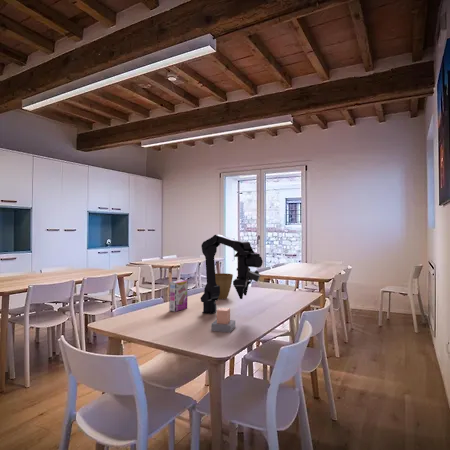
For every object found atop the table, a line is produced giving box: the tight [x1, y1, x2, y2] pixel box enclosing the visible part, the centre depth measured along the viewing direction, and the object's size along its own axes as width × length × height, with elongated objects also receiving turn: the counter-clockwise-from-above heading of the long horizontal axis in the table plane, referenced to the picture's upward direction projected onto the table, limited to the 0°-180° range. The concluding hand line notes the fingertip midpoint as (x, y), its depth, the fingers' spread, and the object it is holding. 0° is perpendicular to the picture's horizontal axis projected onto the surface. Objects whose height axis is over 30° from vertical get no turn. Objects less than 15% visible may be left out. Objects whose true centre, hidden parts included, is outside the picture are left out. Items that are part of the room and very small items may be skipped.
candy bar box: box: [168, 279, 189, 313], centre depth 191 cm, size 11×5×16 cm, turn 149°
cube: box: [216, 307, 231, 324], centre depth 154 cm, size 5×5×6 cm
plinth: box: [210, 319, 236, 333], centre depth 154 cm, size 9×9×3 cm
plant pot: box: [215, 272, 234, 300], centre depth 222 cm, size 15×15×16 cm
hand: (243, 297), depth 167 cm, fingers open, 9 cm apart
